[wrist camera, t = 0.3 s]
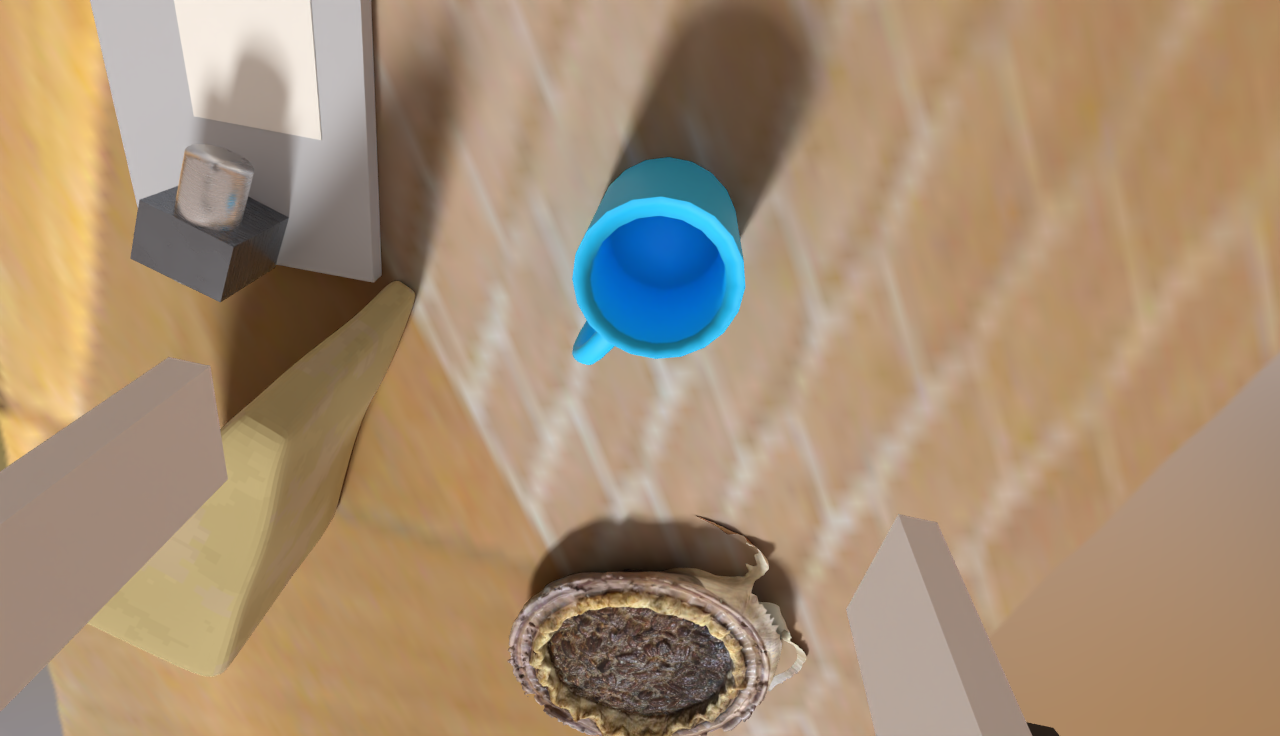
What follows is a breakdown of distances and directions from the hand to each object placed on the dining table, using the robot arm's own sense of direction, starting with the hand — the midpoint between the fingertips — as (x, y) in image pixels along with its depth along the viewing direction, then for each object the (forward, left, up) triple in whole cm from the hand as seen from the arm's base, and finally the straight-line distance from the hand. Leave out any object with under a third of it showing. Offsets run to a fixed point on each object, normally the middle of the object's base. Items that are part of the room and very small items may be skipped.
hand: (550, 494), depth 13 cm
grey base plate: (-3, -22, -27) cm, 35 cm away
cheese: (+19, -19, -27) cm, 38 cm away
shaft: (+6, -23, -26) cm, 35 cm away
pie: (+38, +6, -28) cm, 47 cm away
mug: (+5, +1, -27) cm, 28 cm away
